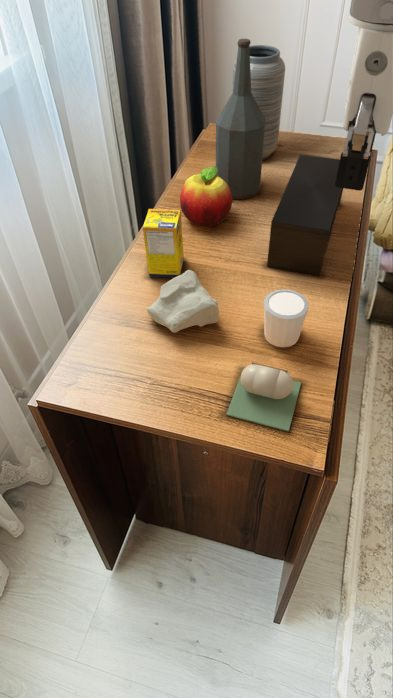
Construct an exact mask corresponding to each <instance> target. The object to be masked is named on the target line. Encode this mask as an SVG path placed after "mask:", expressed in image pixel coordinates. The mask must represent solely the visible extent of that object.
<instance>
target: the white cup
mask: <svg viewBox="0 0 393 698" xmlns="http://www.w3.org/2000/svg"><path fill="white" fill-rule="evenodd" d="M309 305H310V304H309V302H308V299H307V297H305V296H304V295H303V294H302V293H301V292H298V291H295V290H292V289H285V288H281V289H276V290H273V291H271V292H269V293H268V294H267V295H266V296H265V297H264V300H263V330H264V331H263V332H264V333H263V335H264V339H265V340H266V342H268V343H269V344H270V345H272V346H274V347H276V348H289V347H292V346H293V345H295V344H296V343H297V342H298V341H299V339H300V336H301V333H302V330H303V326H304V323H305V320H306V317H307V314H308V311H309Z"/></svg>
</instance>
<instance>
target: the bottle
mask: <svg viewBox="0 0 393 698" xmlns="http://www.w3.org/2000/svg"><path fill="white" fill-rule="evenodd" d="M249 46H251V40H250V39H249V38H240V39H238V40H237V53H236V60H237V61H236V60H235V61H236V70H235V78H234V86H233V93H232V92H231V94H230V96H229V97H228V100H226V103H225V104H224V106H223V108H222V110H221V111H220V113H219V114H218V117H217V119H216V121H215V166H216V168H217V169H218V172H217V174H216V175H217V176H219V177H220V178H221V179H223V180H224V181H225V182H226V183H227V185H228V186H229V188H230V191H231V195H232V200H241V201H242V200H245V199H249V198H253V197H255V196H256V195H257V194H258V192H259V191H260V188H261V187H260V186H261V181H262V168H263V160H262V157H263V144H264V131H265V117H264V115H263V113H262V112H261V110H260V108H259V106H258V104H257V102H256V100H255V98H254V96H253V95H252V93H251V73H250V48H249Z"/></svg>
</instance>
